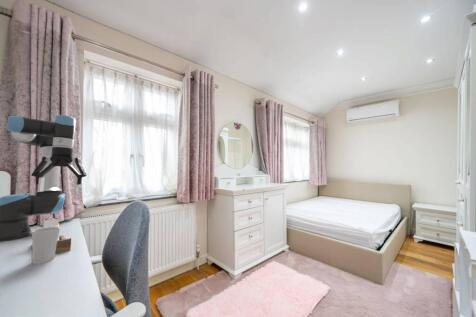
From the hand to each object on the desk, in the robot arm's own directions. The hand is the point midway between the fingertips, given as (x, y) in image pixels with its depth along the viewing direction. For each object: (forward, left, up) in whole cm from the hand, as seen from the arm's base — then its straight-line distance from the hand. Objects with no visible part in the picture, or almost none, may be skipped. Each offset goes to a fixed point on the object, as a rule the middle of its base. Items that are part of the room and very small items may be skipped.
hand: (58, 191), depth 92 cm
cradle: (-3, -1, -26) cm, 26 cm away
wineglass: (-9, -1, -26) cm, 28 cm away
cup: (+15, -5, -26) cm, 31 cm away
